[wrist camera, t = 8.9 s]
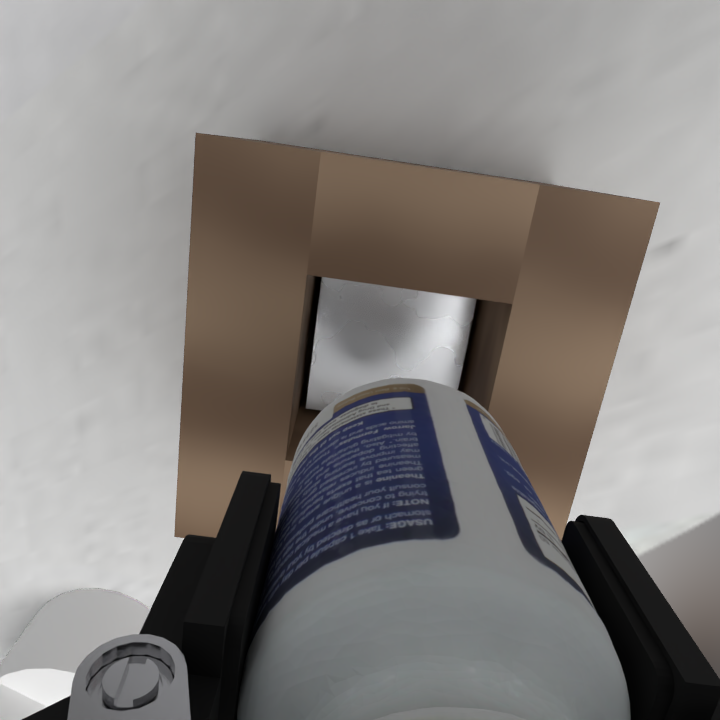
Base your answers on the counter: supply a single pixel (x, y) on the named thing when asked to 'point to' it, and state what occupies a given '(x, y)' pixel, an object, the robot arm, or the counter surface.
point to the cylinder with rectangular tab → (62, 646)
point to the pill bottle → (421, 577)
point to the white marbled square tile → (385, 337)
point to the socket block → (401, 270)
